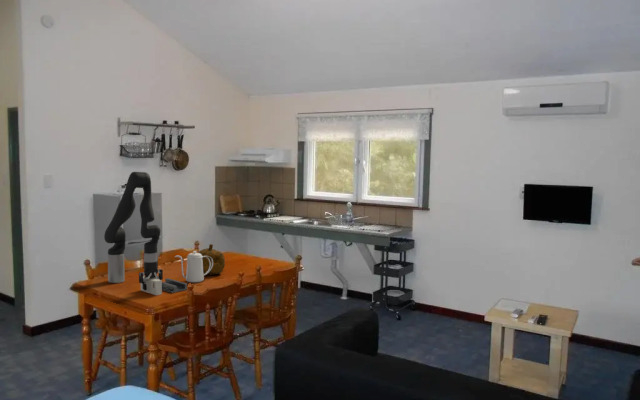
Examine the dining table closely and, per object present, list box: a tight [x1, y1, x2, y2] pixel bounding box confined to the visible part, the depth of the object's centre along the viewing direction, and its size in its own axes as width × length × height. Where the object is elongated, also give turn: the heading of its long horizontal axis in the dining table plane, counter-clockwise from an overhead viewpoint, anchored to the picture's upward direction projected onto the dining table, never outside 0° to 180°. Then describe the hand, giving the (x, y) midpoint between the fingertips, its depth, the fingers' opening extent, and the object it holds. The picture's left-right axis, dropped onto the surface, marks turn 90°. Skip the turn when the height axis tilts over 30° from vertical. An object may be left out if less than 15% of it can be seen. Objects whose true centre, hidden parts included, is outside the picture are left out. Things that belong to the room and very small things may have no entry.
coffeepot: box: [174, 250, 213, 283], centre depth 323 cm, size 11×25×19 cm, turn 126°
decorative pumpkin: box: [197, 243, 226, 276], centre depth 344 cm, size 20×21×20 cm
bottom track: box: [162, 277, 189, 294], centre depth 305 cm, size 20×12×4 cm, turn 50°
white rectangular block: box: [140, 275, 163, 296], centre depth 296 cm, size 16×4×8 cm, turn 50°
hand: (151, 288), depth 296 cm, fingers open, 7 cm apart
